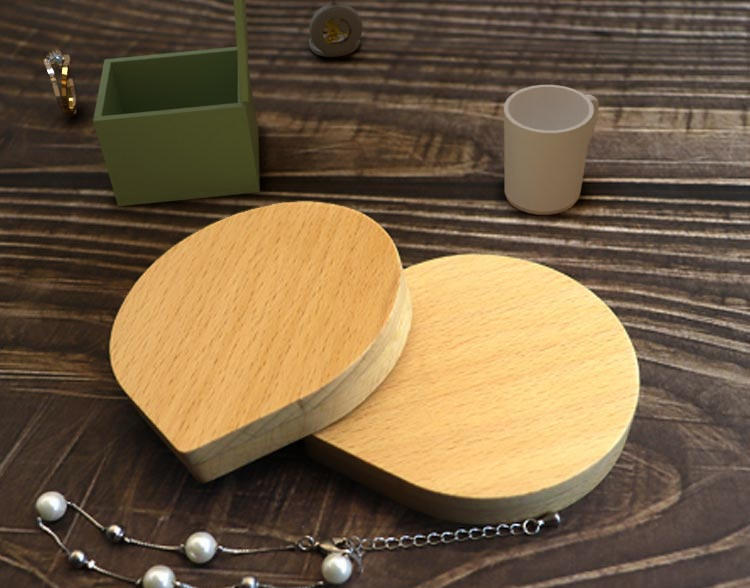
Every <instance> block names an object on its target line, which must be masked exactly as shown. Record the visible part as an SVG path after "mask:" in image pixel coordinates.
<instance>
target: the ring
mask: <svg viewBox="0 0 750 588" xmlns="http://www.w3.org/2000/svg"><path fill="white" fill-rule="evenodd" d="M70 61H71V57H70V55H69V54H68V53H65V54H63V52H62V50H60V49H58V48H57V49H55V50H52V51H51V52H49V53H48V54H47V55H46V58H44V59H43V64H44V66H45V69H46V70H47V73H48V76H49V78H50V82H51V85H52V88H53V92H54V96H55V99H56V102H57V105H58V107H59V109H60V111H61V113H62V115H63V116H64V117H67V118H68V117H74V116H75V115H77V114H78V109H77V108H78V97H77V96H78V95H77V88H76V87H77V86H76V82H75V76H74V73H73V69H72V66H71V63H70ZM53 66H54V67H55V70H56V69H58V71H59V72H60V73H61V88H60V84H59V81H58V79H57V75H56V73H55V70H54V68H53Z"/></svg>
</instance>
